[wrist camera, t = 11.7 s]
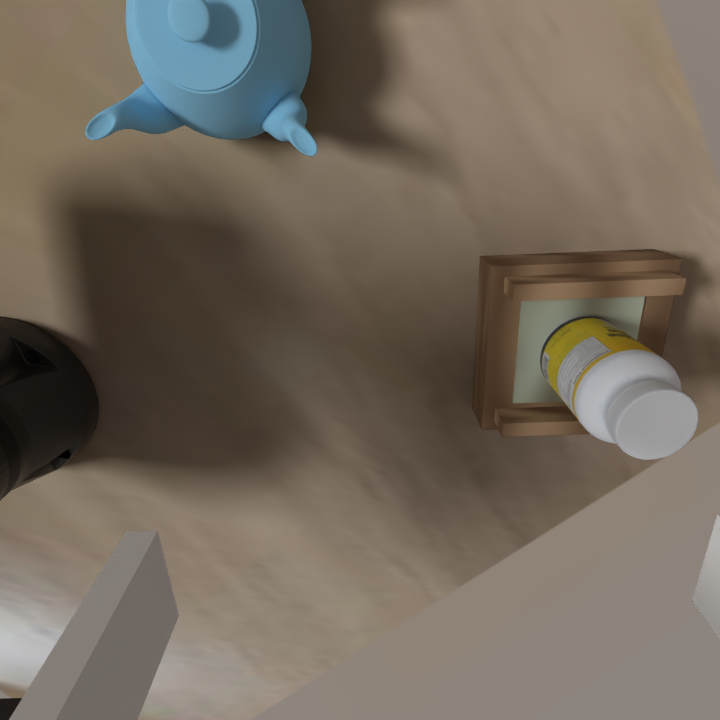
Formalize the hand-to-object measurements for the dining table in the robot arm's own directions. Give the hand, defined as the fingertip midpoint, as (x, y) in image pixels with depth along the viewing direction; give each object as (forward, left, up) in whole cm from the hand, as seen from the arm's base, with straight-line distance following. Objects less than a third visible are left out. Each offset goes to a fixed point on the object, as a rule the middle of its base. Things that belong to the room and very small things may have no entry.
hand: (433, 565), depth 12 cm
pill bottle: (+15, -6, -28) cm, 32 cm away
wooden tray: (+15, -6, -32) cm, 36 cm away
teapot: (-10, +16, -32) cm, 37 cm away
